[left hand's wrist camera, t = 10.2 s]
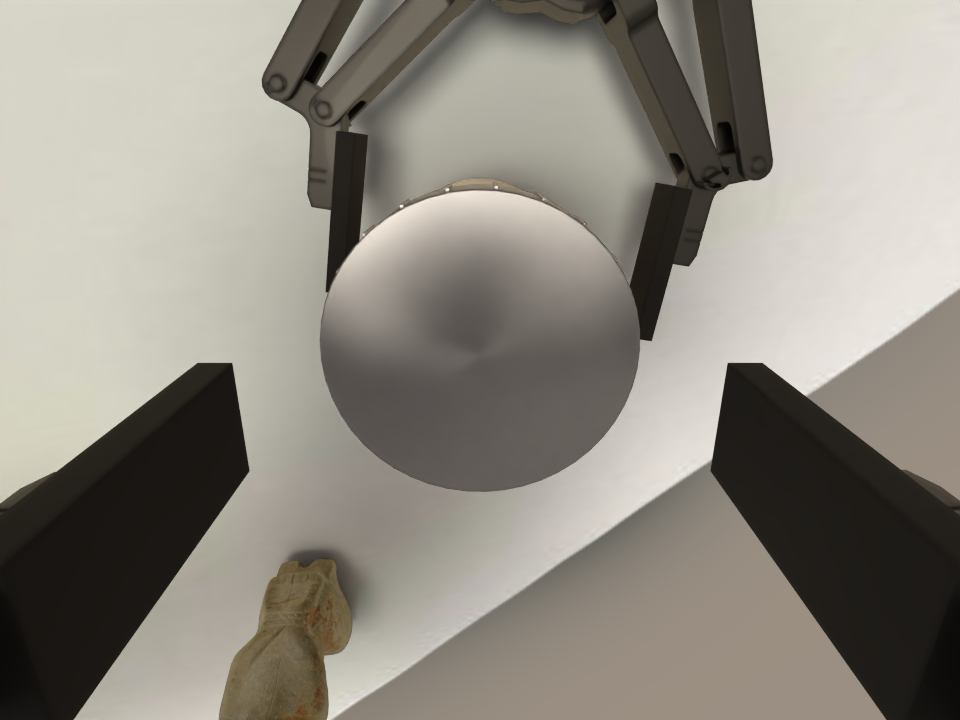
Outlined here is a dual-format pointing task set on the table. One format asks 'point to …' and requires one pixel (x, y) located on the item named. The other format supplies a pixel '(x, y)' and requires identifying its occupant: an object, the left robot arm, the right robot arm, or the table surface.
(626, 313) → the lid
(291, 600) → the sculpture
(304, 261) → the table surface
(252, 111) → the table surface
